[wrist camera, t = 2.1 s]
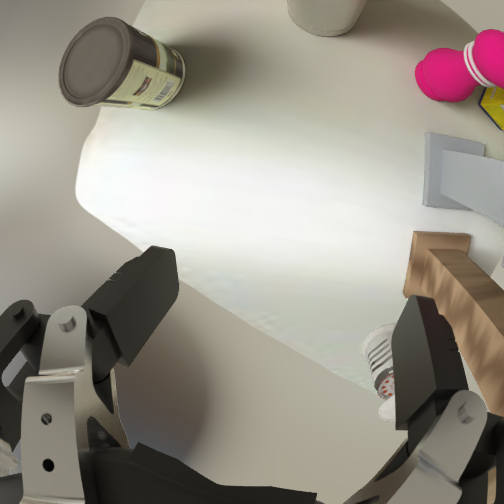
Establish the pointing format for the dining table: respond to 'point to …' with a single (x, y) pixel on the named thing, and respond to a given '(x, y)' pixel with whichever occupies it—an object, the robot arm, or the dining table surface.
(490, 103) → the supplement box
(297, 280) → the dining table surface
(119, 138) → the dining table surface
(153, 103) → the coffee can
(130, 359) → the robot arm
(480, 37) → the pepper mill
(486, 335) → the walnut stand
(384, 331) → the french press
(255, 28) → the dining table surface
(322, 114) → the dining table surface
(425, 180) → the slate pedestal
